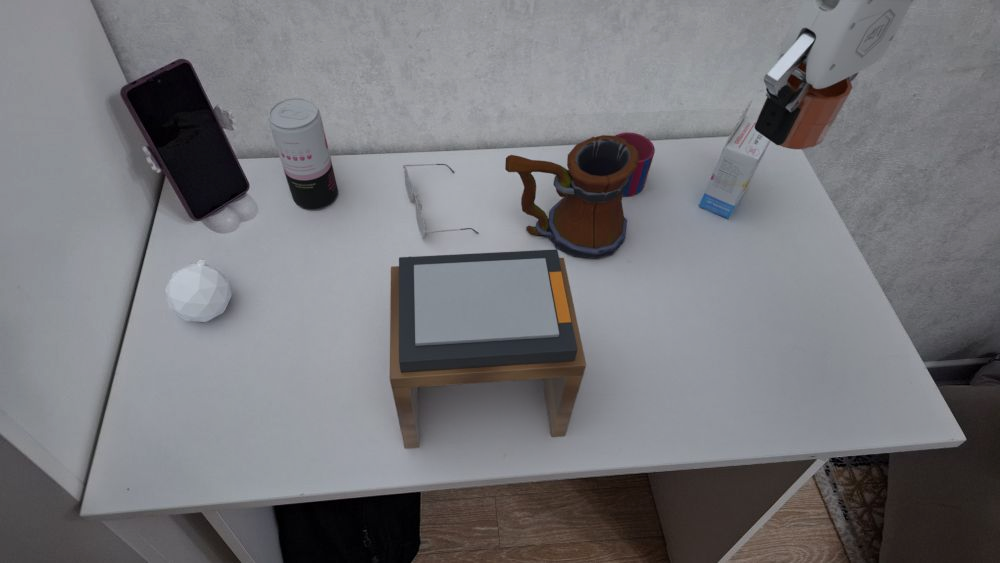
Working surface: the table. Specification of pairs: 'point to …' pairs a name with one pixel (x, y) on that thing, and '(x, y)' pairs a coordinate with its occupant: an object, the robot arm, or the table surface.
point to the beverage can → (303, 152)
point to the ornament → (198, 292)
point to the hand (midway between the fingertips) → (793, 122)
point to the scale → (483, 311)
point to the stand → (484, 375)
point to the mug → (582, 196)
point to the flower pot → (815, 112)
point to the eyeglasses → (419, 205)
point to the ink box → (735, 167)
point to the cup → (645, 160)
